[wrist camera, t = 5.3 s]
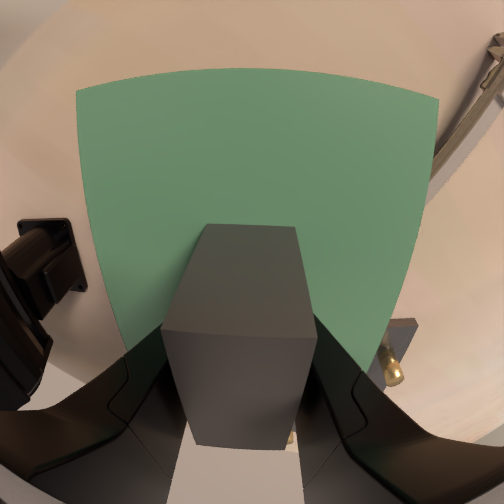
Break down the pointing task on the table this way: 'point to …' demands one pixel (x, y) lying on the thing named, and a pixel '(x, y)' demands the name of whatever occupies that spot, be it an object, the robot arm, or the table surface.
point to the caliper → (471, 124)
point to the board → (260, 179)
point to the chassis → (388, 356)
